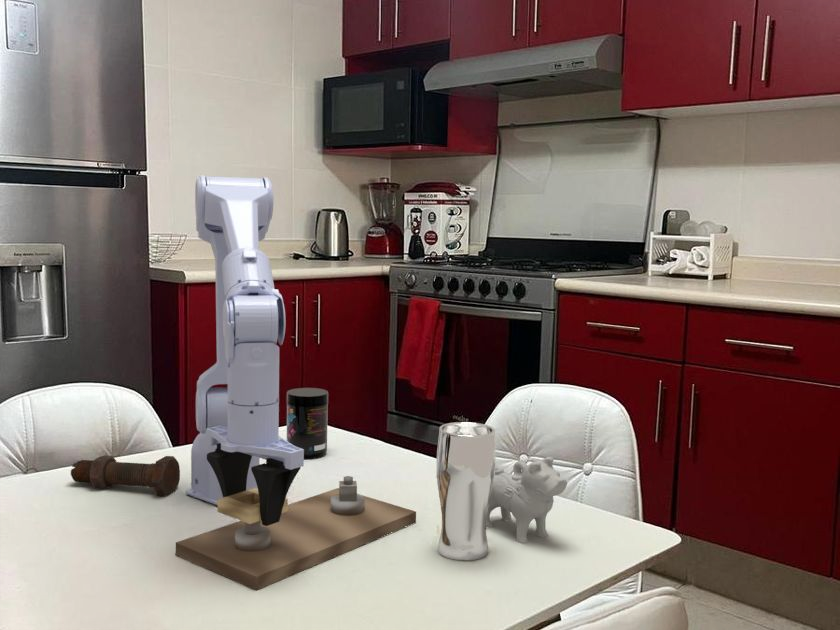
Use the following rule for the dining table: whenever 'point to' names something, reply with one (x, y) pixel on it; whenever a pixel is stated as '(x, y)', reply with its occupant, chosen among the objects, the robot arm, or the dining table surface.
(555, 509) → the dining table surface
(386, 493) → the dining table surface
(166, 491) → the bolt
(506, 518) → the dog figurine
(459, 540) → the beer glass
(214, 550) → the board
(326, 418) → the supplement container
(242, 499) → the square wooden ring
